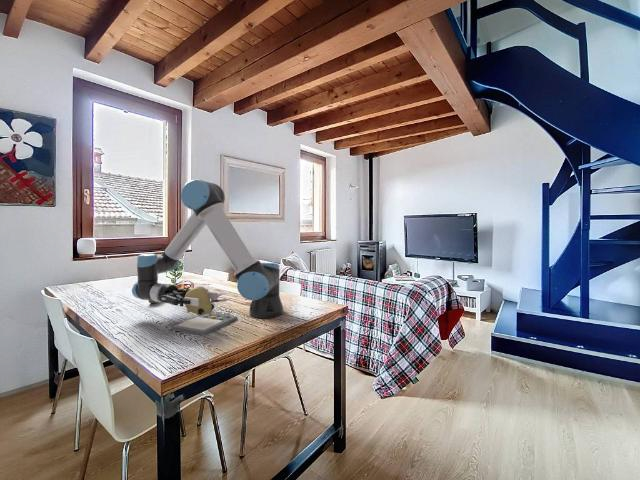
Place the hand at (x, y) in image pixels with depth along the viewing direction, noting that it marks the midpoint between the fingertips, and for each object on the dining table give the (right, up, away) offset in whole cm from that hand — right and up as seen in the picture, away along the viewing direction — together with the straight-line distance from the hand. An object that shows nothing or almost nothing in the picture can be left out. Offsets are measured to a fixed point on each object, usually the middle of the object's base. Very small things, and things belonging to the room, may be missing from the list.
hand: (208, 299), depth 121 cm
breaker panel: (-3, -11, +5) cm, 12 cm away
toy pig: (-4, -6, +2) cm, 8 cm away
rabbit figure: (-13, -9, +41) cm, 43 cm away
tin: (-40, -9, +39) cm, 57 cm away
